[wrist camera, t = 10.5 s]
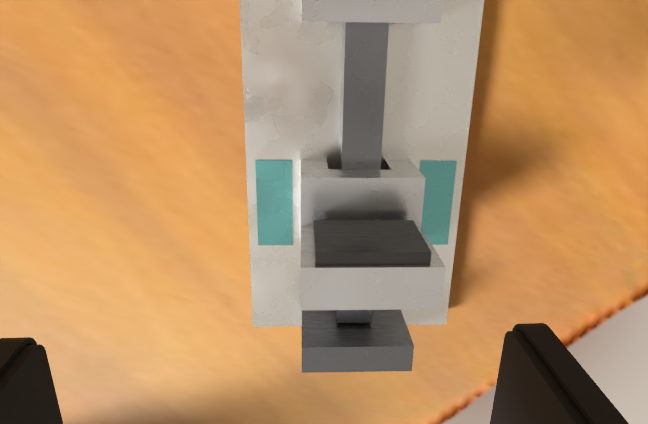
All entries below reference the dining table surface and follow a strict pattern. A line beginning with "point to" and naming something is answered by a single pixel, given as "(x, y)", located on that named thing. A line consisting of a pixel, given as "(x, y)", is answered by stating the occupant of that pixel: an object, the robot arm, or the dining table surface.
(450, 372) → the dining table surface
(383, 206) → the notched grey block
